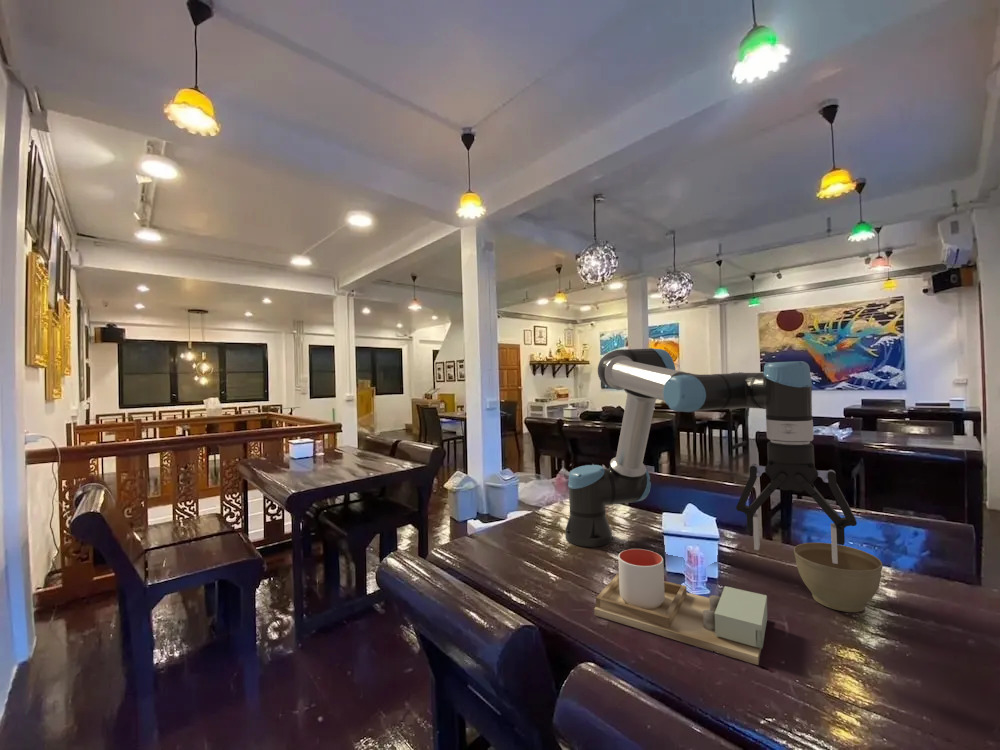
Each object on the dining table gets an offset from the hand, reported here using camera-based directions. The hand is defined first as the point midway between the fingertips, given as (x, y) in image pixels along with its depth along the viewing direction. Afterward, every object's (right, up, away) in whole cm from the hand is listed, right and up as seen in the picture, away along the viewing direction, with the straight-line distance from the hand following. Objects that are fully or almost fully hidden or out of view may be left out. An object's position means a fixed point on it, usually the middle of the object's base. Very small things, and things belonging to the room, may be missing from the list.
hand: (794, 554), depth 84 cm
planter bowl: (+21, -18, +16) cm, 32 cm away
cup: (-24, -18, +18) cm, 35 cm away
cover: (-7, -17, +5) cm, 19 cm away
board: (-17, -19, +13) cm, 29 cm away
